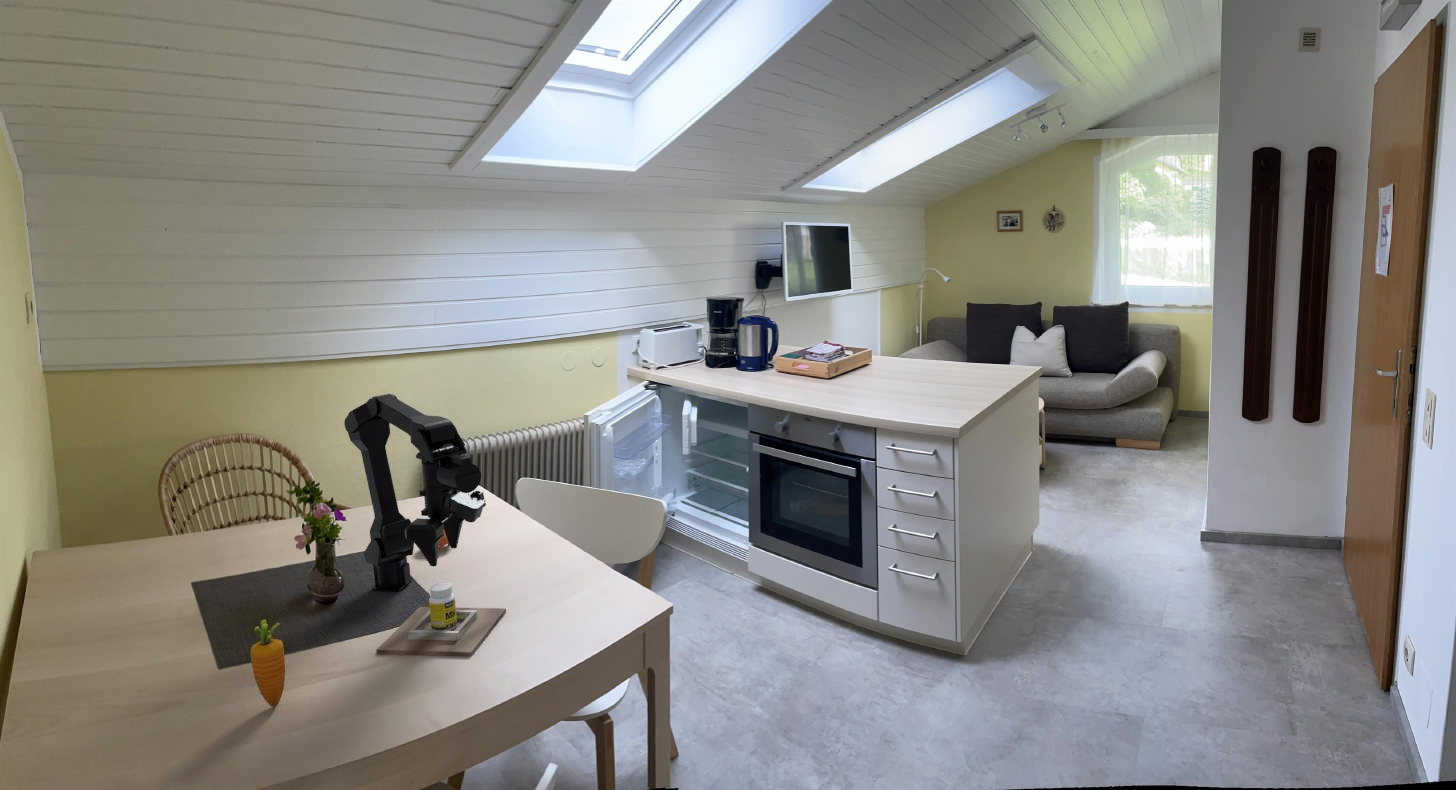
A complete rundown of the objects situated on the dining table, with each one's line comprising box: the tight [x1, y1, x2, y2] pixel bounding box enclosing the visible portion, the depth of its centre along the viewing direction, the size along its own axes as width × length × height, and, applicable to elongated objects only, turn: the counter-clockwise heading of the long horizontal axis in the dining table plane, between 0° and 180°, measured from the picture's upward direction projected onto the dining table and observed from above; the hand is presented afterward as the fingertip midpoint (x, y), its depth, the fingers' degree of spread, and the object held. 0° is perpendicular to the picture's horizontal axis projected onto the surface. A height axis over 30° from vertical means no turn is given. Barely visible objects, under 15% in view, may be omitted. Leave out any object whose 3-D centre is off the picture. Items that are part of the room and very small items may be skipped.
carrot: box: [250, 618, 286, 708], centre depth 136 cm, size 5×5×15 cm
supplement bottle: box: [428, 582, 457, 631], centre depth 161 cm, size 5×5×8 cm
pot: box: [438, 531, 450, 553], centre depth 206 cm, size 8×8×7 cm
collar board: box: [375, 606, 507, 657], centre depth 162 cm, size 18×18×2 cm
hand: (444, 556), depth 170 cm, fingers open, 9 cm apart
